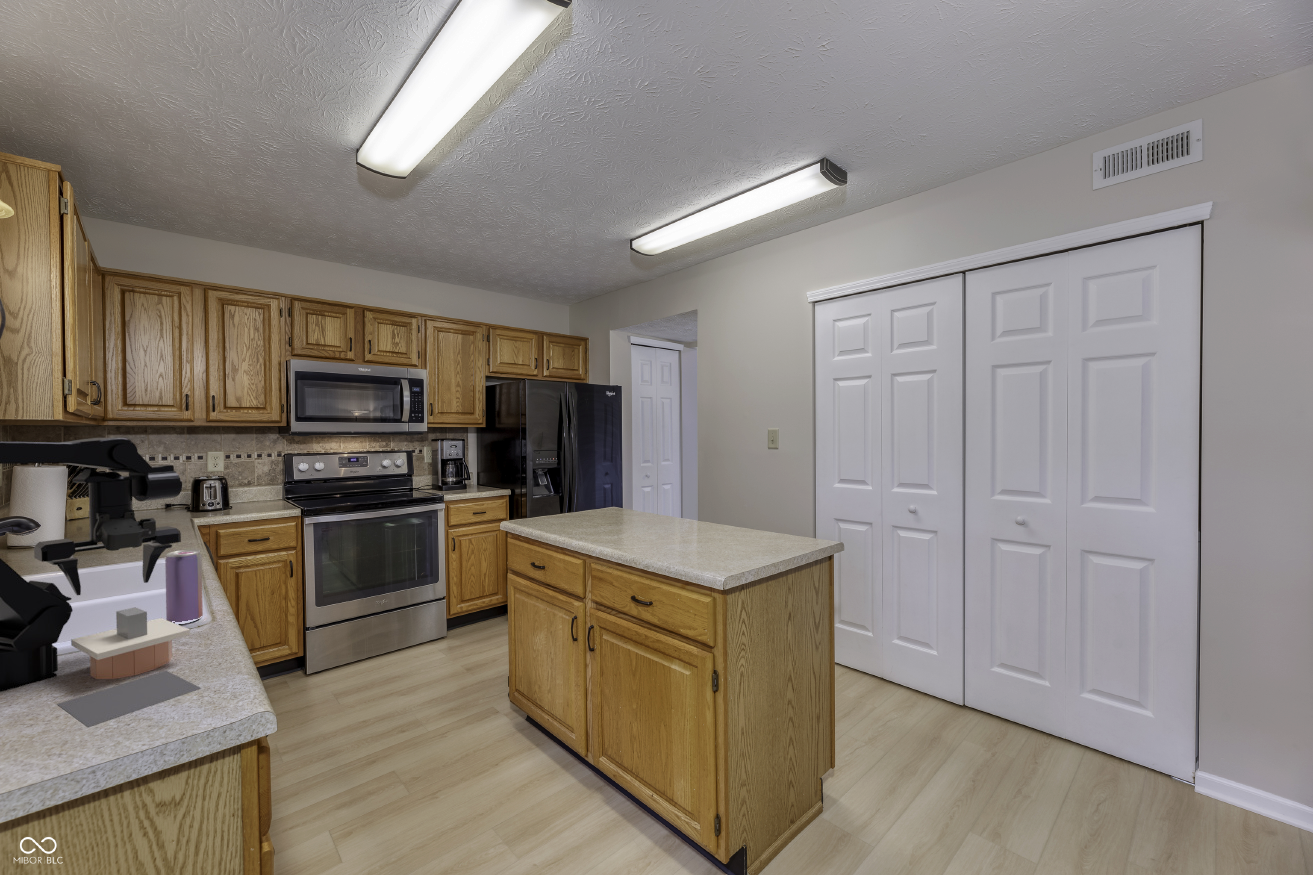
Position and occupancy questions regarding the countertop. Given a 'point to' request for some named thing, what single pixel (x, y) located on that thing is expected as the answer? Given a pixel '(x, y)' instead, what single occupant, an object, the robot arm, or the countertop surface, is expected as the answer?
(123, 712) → the mat
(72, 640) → the cover sheet
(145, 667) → the bowl
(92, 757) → the countertop surface
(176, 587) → the beverage can
